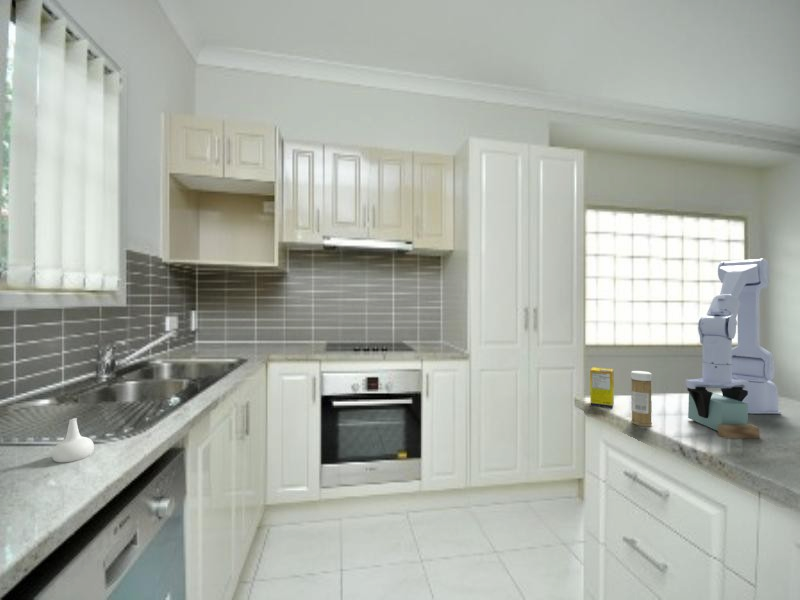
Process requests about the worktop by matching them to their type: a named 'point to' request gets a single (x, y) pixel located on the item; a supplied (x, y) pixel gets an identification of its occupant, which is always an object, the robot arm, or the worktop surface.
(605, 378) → the supplement box
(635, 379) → the sprinkles bottle
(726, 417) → the pale mint block
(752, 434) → the strip
